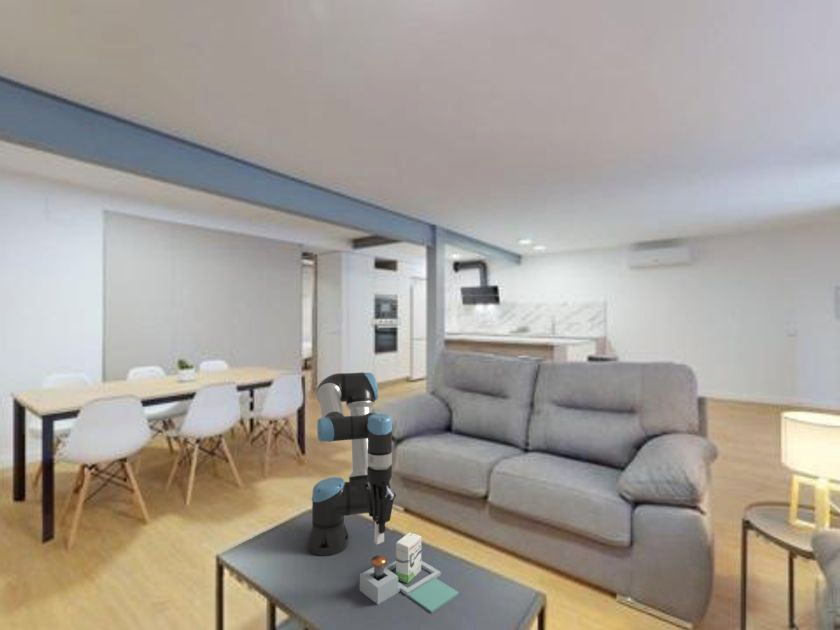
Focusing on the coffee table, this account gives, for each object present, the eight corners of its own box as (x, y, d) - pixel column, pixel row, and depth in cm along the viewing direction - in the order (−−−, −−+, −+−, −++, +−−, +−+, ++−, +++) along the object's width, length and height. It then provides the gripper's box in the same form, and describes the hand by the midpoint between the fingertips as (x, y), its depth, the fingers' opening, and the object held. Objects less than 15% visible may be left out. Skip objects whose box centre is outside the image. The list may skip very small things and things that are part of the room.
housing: (354, 585, 135) (354, 570, 135) (410, 556, 152) (410, 542, 152) (384, 609, 125) (384, 592, 125) (440, 575, 141) (440, 560, 141)
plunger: (368, 578, 133) (369, 559, 133) (380, 572, 136) (380, 553, 136) (377, 584, 130) (377, 565, 130) (388, 578, 133) (389, 559, 133)
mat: (408, 596, 130) (408, 594, 130) (435, 579, 139) (435, 577, 139) (431, 613, 123) (431, 611, 123) (459, 594, 132) (459, 592, 132)
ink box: (407, 584, 136) (408, 547, 136) (395, 579, 139) (395, 542, 139) (421, 570, 144) (421, 535, 144) (409, 565, 146) (409, 531, 146)
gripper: (357, 463, 135) (356, 538, 135) (383, 474, 125) (383, 555, 125) (376, 457, 140) (375, 530, 140) (402, 468, 130) (402, 545, 130)
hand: (379, 541), depth 133 cm, fingers closed
